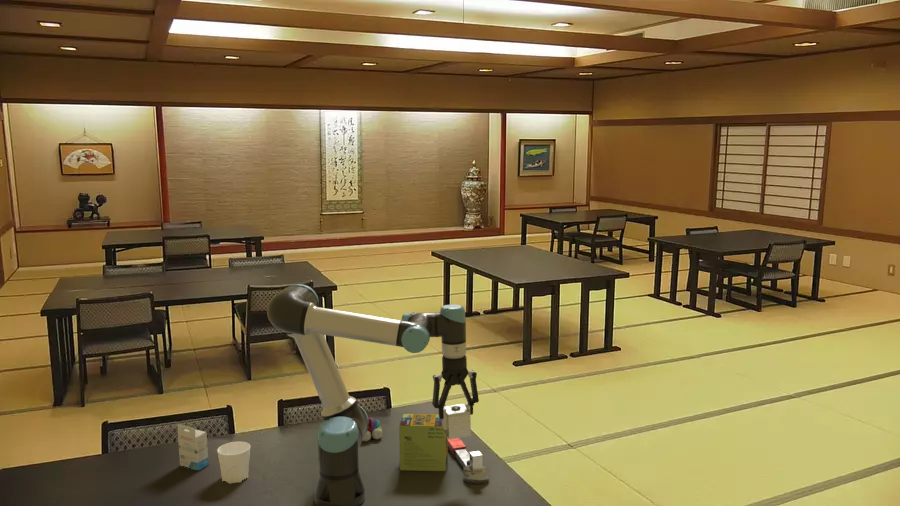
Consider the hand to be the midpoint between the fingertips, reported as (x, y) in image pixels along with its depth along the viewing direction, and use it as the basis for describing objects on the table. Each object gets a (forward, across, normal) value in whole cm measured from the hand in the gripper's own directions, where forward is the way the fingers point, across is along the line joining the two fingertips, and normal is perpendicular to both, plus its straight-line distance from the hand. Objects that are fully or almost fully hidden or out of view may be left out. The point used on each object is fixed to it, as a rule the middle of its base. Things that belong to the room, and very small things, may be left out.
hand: (456, 426), depth 214 cm
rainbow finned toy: (+17, -21, +41) cm, 49 cm away
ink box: (+16, -81, +35) cm, 89 cm away
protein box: (+18, -7, +14) cm, 24 cm away
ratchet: (+18, +6, +11) cm, 22 cm away
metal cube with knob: (+2, 0, 0) cm, 2 cm away
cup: (+16, -68, +22) cm, 73 cm away
